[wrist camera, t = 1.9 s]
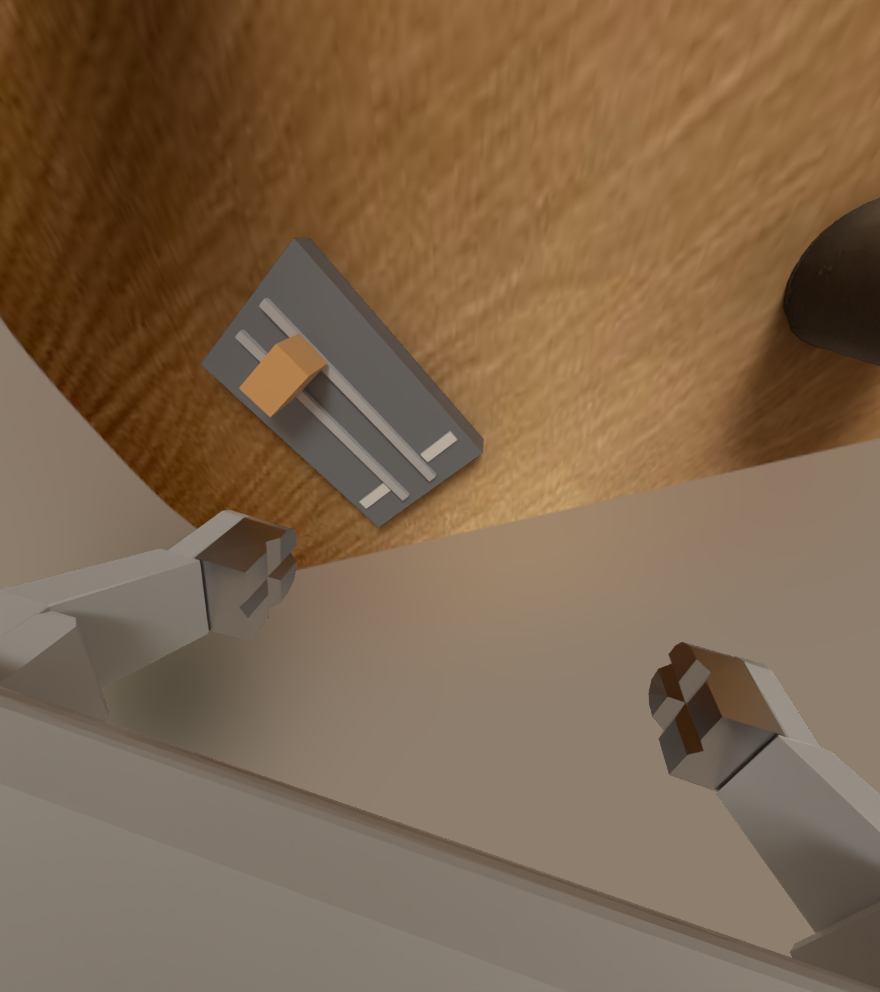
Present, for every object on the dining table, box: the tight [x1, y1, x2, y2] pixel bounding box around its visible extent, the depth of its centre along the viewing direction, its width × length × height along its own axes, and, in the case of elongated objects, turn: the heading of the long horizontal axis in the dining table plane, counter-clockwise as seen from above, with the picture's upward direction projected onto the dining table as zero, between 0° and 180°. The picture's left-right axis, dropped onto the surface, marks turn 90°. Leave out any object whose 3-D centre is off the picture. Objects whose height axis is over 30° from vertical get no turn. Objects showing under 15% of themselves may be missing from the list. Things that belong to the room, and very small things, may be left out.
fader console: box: [201, 238, 484, 527], centre depth 37 cm, size 22×14×4 cm, turn 42°
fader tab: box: [239, 333, 327, 417], centre depth 32 cm, size 3×5×5 cm, turn 132°
